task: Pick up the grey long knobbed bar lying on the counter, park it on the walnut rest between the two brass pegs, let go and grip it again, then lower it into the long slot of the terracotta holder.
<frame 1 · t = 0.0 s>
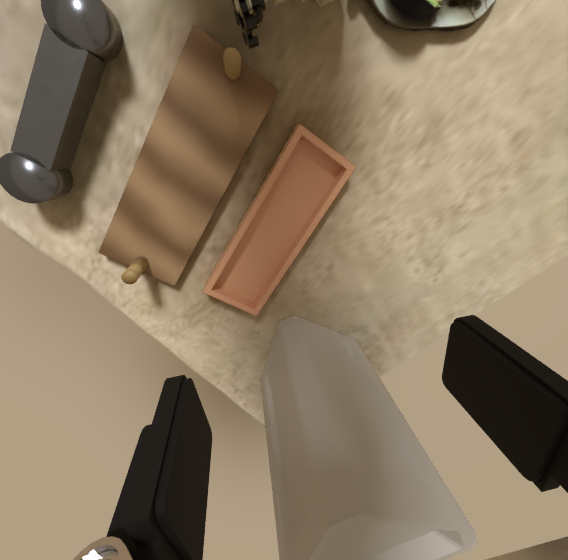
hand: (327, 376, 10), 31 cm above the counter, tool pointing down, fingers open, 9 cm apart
grey long knobbed bar: (69, 108, 30), on the counter
slot holder: (272, 227, 39), on the counter
paper bag: (301, 348, 50), on the counter
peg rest: (184, 176, 35), on the counter
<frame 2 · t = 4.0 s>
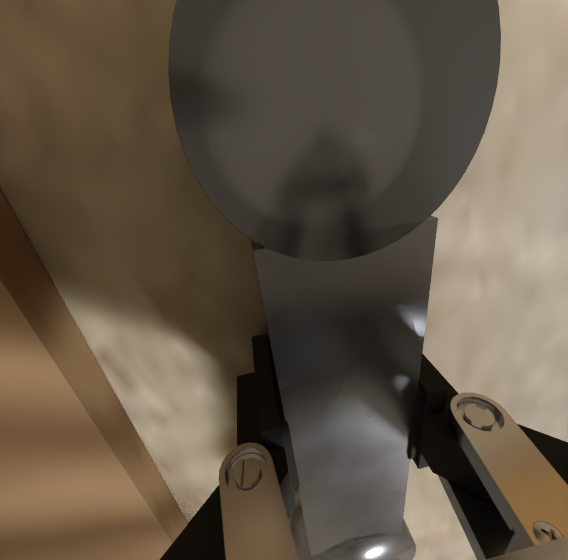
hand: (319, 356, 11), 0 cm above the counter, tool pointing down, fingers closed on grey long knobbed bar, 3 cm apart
grey long knobbed bar: (316, 349, 11), on the counter, touching gripper
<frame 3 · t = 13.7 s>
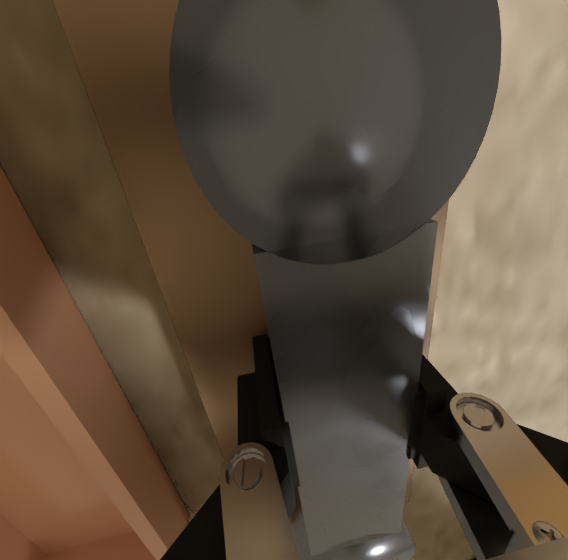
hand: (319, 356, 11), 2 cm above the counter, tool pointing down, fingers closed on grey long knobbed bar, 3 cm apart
grey long knobbed bar: (316, 349, 11), point 2 cm above the counter, touching gripper
slot holder: (2, 388, 12), on the counter
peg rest: (307, 327, 13), on the counter
when the fingers open (2 cm above the counter, at t = 19.3 s): grey long knobbed bar drops 1 cm, resting on slot holder.
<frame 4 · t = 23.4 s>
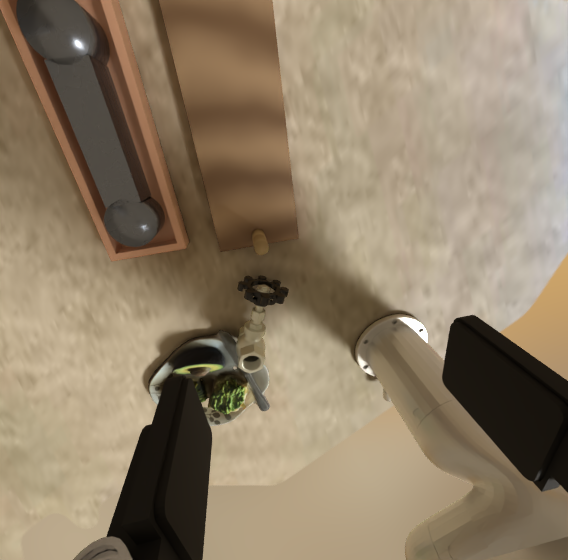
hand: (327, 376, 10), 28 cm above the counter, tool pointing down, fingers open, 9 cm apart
grey long knobbed bar: (114, 139, 29), point 1 cm above the counter, touching slot holder
slot holder: (116, 138, 30), on the counter
salad plate: (211, 374, 46), on the counter
valve: (254, 311, 42), on the counter
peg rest: (238, 122, 31), on the counter
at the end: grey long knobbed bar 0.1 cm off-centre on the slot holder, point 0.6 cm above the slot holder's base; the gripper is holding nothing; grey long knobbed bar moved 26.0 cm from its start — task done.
